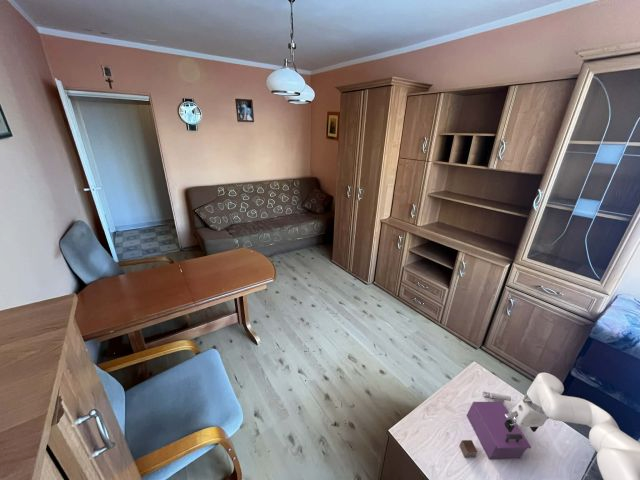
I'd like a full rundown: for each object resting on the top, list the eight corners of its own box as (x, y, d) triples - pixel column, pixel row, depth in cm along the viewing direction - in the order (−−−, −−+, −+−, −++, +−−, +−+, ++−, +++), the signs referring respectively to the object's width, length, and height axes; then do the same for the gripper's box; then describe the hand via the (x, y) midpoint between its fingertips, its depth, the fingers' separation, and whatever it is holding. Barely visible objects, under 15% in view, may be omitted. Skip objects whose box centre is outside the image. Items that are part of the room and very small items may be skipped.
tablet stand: (499, 397, 137) (505, 386, 133) (506, 412, 130) (513, 401, 126) (482, 393, 138) (487, 383, 134) (488, 408, 131) (493, 398, 127)
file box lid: (530, 448, 107) (535, 441, 105) (498, 448, 106) (502, 442, 104) (500, 402, 124) (504, 395, 121) (472, 402, 123) (475, 395, 121)
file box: (519, 458, 112) (529, 445, 108) (488, 459, 111) (496, 446, 107) (493, 415, 128) (500, 402, 124) (466, 415, 127) (472, 402, 123)
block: (474, 457, 112) (477, 451, 110) (464, 457, 111) (467, 452, 110) (468, 445, 116) (471, 440, 114) (459, 445, 115) (461, 440, 114)
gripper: (522, 412, 93) (504, 438, 101) (568, 412, 94) (547, 438, 102) (507, 392, 100) (492, 418, 108) (551, 391, 101) (532, 417, 108)
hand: (519, 428), depth 105 cm, fingers open, 9 cm apart
